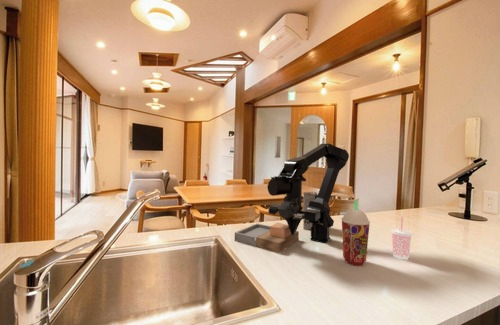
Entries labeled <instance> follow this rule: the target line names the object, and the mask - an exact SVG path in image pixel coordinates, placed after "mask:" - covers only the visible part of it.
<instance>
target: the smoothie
mask: <svg viewBox="0 0 500 325" xmlns="http://www.w3.org/2000/svg"><path fill="white" fill-rule="evenodd" d="M370 223H371V221H370V220H369V218H368V216H367V214H366V213H365V212H364V211H362V210H360V209H358V201H357V200H354V208H352V209H349V210H348V211H346V212H345V213H344V215H343V217H342V218H341V233H342V257H343V258H344V262H346V263H347V264H348V265H351V266H357V267H359V266H364V264H365V262H366V261H367V253H368V245H369V244H368V243H369V234H370Z"/></svg>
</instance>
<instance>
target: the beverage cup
mask: <svg viewBox="0 0 500 325" xmlns="http://www.w3.org/2000/svg"><path fill="white" fill-rule="evenodd" d="M403 222H404V216H403V215H401V216H400V228H398V227H397V228H396V227H395V228H391V230H390V231H391V234H392V235H391V238H392V241H391V242H392V256H393V258H395V257H396V258H395V259H399V260H402V259H407V260H409V259H408V258H410V252H411V251H410V250H411V241H412V236H413V232H412V231H411V230H409V229H405V228H404V227H403V225H404V223H403Z"/></svg>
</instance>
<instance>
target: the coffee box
mask: <svg viewBox="0 0 500 325" xmlns="http://www.w3.org/2000/svg"><path fill="white" fill-rule="evenodd" d="M317 196H318V193H317V192H314V191H313V192H310V191H309V192H308V191H307V192H303V199H302V200H303V204H302V207H303V209H302V211H307V208H308V206H309V202H310V201H314V200H315V199H316V198H317ZM302 223H303V224H302V225H303V226H302V228H303V229H304V230H311V227H312V224H313V223H309V220H306V219H305V218H304V219H302Z"/></svg>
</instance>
